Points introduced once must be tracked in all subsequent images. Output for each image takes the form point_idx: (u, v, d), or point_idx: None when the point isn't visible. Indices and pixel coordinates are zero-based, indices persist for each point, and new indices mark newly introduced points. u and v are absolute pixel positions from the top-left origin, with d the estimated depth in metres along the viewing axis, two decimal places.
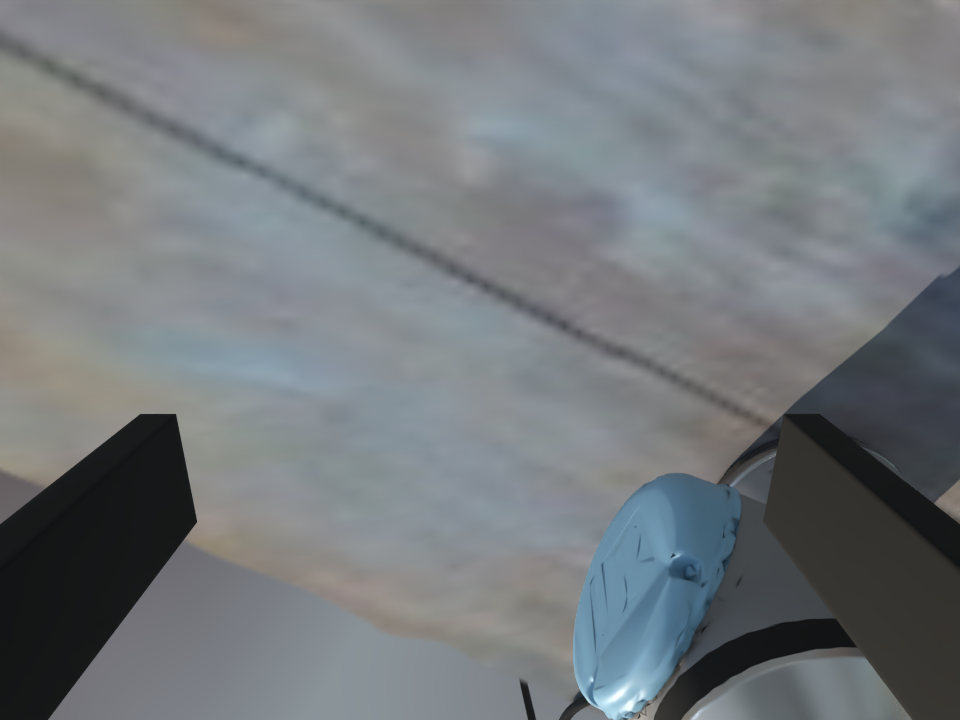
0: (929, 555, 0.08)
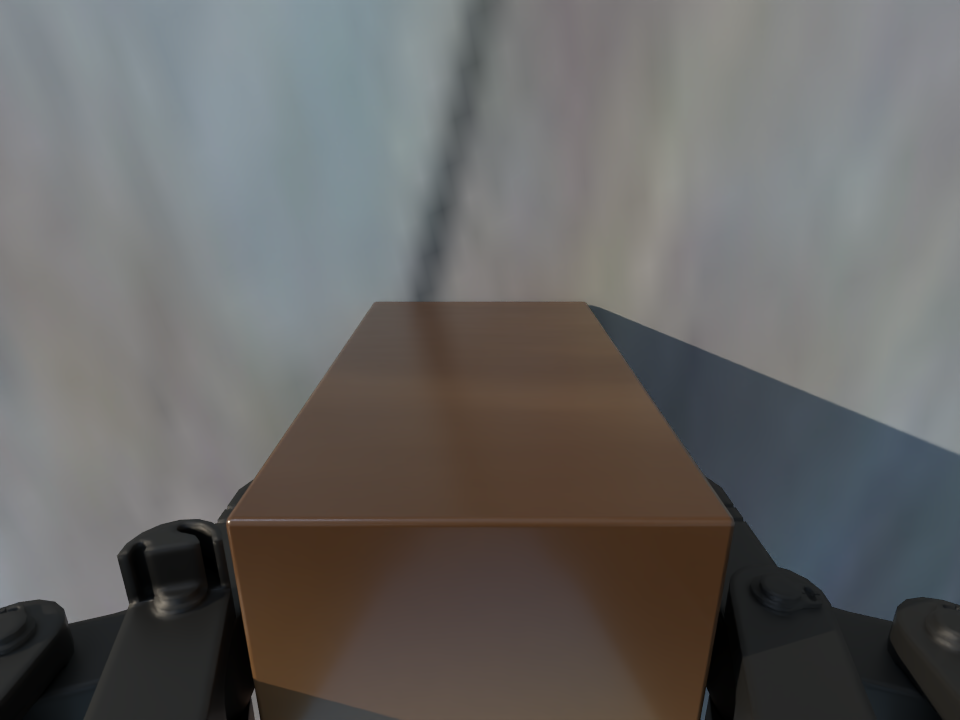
0: None
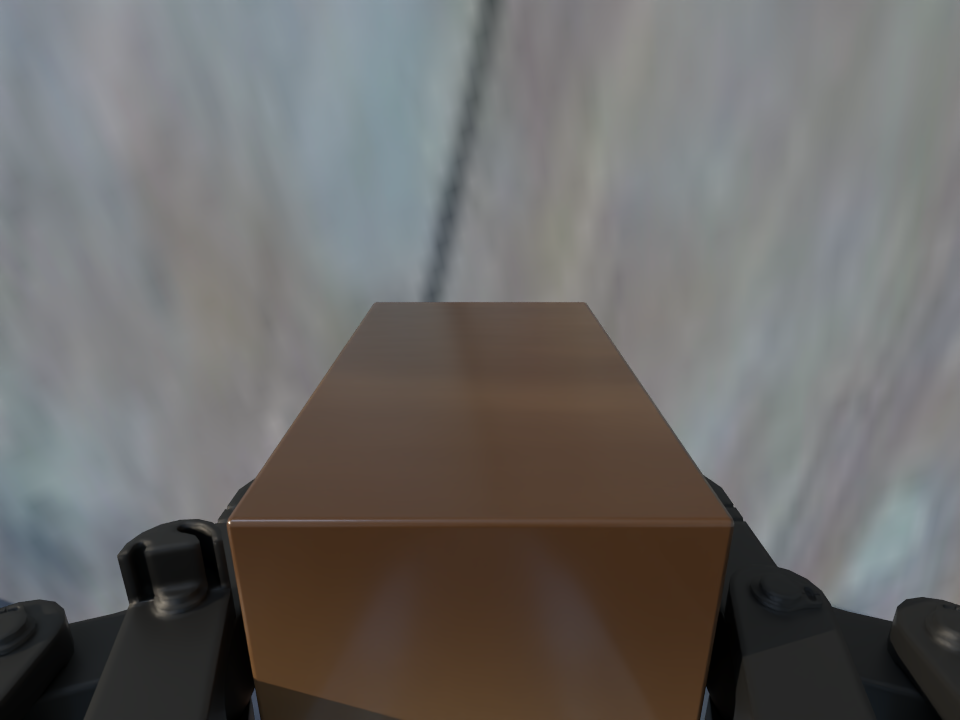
0: None
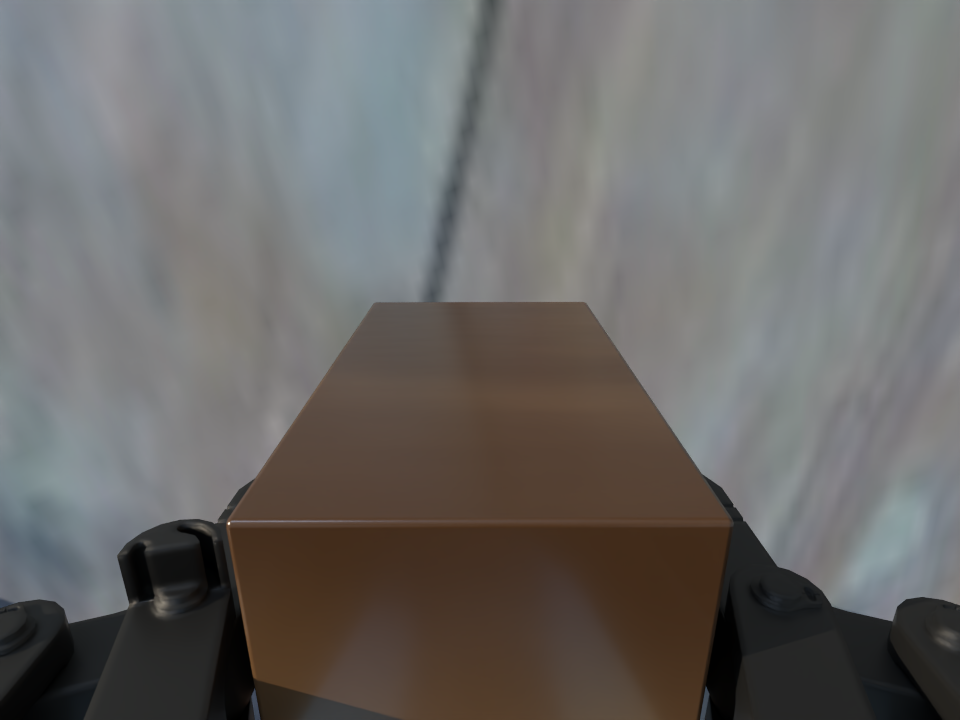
0: None
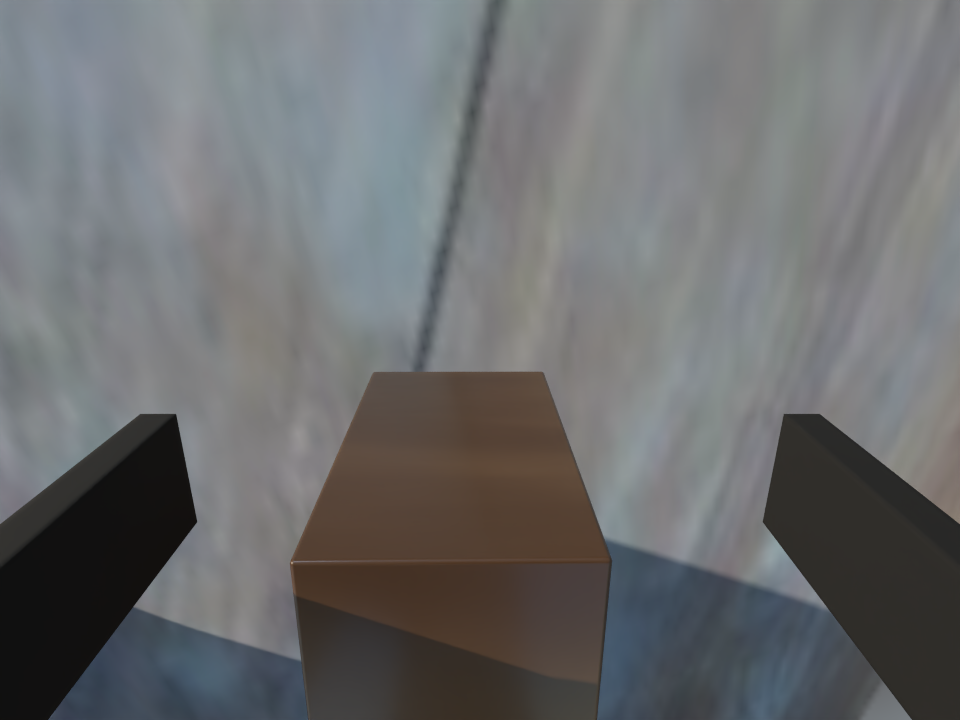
0: (929, 555, 0.08)
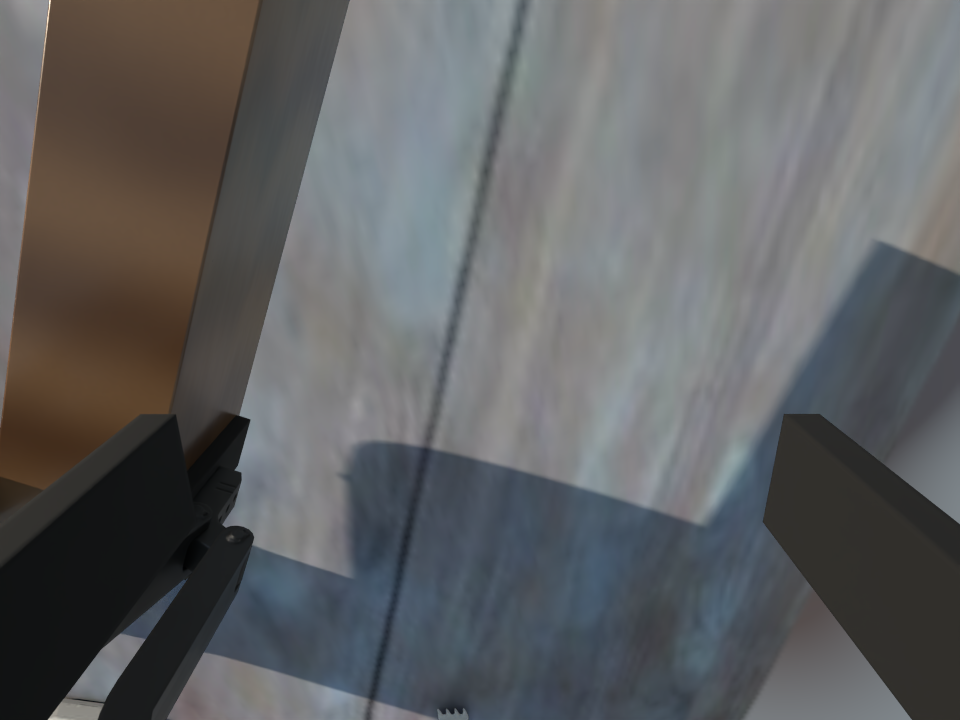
0: (930, 555, 0.08)
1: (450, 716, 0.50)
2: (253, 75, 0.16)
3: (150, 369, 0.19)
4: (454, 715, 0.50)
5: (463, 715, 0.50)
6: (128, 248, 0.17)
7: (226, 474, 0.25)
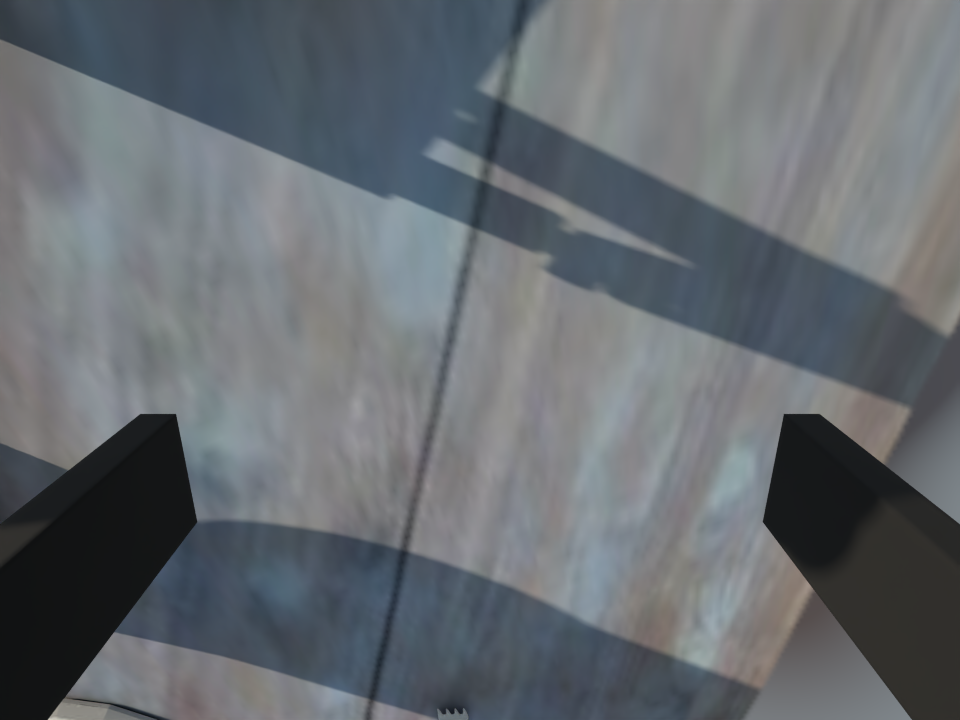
0: (930, 555, 0.08)
1: (450, 716, 0.50)
2: None
3: None
4: (454, 715, 0.50)
5: (463, 715, 0.50)
6: None
7: None
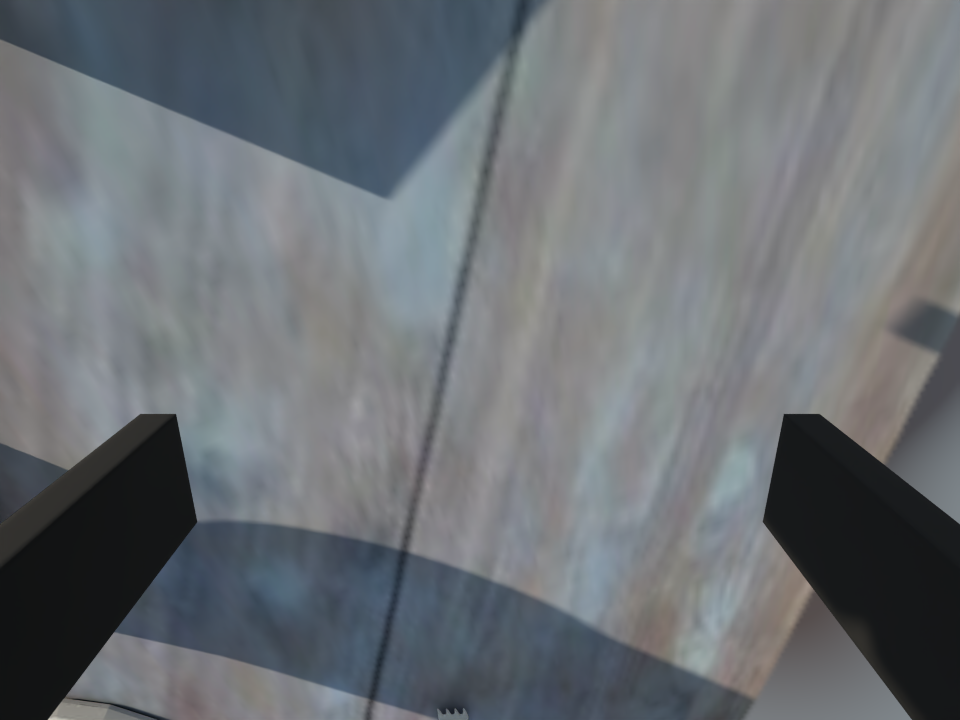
0: (930, 555, 0.08)
1: (450, 716, 0.50)
2: None
3: None
4: (454, 715, 0.50)
5: (463, 715, 0.50)
6: None
7: None
